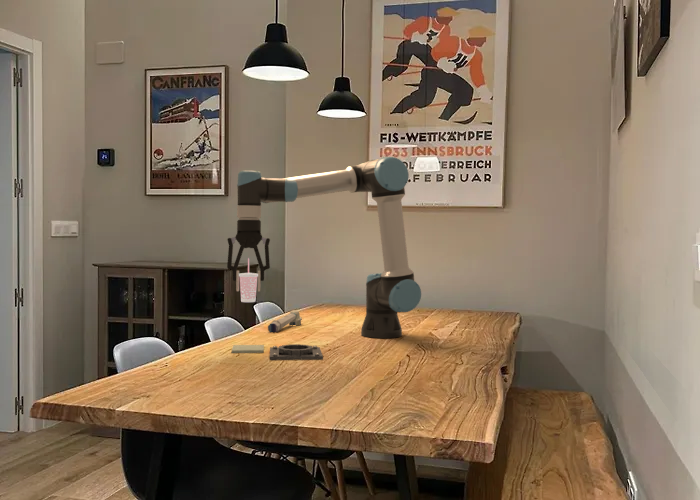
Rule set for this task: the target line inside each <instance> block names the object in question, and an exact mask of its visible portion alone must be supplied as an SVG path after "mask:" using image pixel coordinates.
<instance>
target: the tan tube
mask: <svg viewBox="0 0 700 500" xmlns="http://www.w3.org/2000/svg"><path fill="white" fill-rule="evenodd" d="M302 319H303V318H302V317H301V316H300V311H299V310H298V309H293V310H290V312H289V313H287V315H284V316H282V317H281V318H278V319H275V320H272V321H271V323H269V325H267V331H268V332H269V333H271V332H276V333H277V332H280V331H281V330H283V328H284V327H286V326H288V325H289V326H290V325H297V326H301V325H302V321H303V320H302Z"/></svg>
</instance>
